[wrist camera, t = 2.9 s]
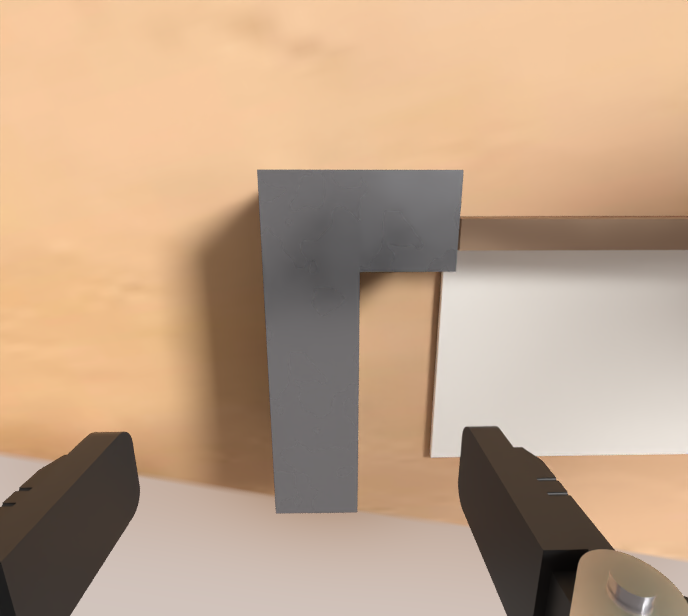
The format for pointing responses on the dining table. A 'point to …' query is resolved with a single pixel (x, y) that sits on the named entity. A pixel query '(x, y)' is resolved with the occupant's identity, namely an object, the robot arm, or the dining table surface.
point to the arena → (573, 233)
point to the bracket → (336, 306)
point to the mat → (564, 351)
